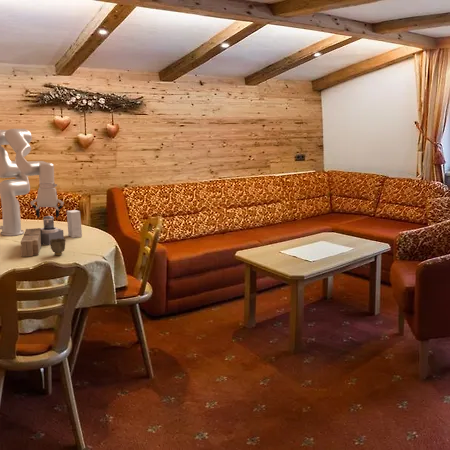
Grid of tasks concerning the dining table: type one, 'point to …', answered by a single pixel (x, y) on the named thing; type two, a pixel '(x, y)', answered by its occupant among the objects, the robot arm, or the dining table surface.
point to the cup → (58, 246)
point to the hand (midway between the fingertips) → (47, 217)
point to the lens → (48, 223)
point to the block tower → (31, 242)
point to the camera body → (50, 235)
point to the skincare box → (74, 223)
